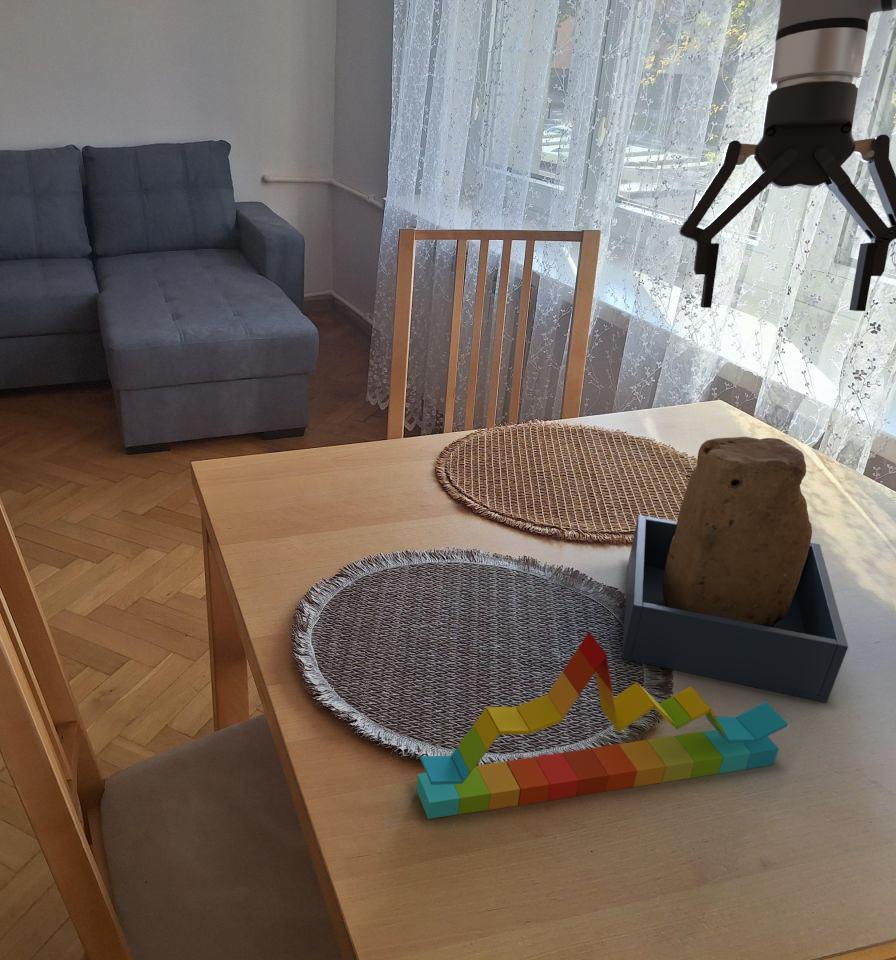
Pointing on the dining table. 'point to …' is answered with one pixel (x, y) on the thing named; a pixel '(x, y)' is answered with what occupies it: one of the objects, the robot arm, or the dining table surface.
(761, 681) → the grey storage tray
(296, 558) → the dining table surface
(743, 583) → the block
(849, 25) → the robot arm
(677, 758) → the chart
